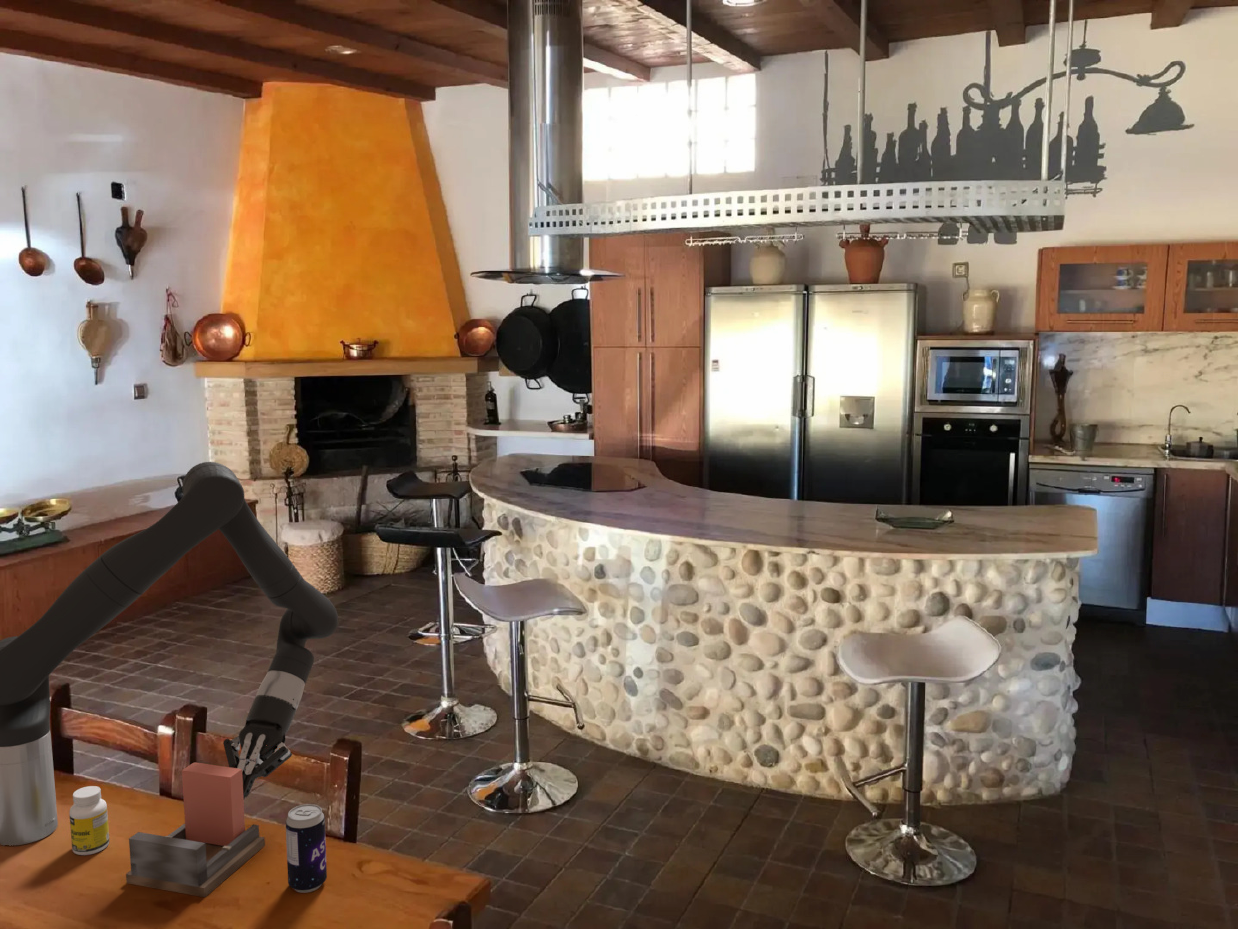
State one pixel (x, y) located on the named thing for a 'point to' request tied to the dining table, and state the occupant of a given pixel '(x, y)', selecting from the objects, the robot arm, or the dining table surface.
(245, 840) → the holder
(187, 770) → the pink upright block
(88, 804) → the supplement bottle
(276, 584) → the robot arm
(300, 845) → the beverage can
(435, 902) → the dining table surface
